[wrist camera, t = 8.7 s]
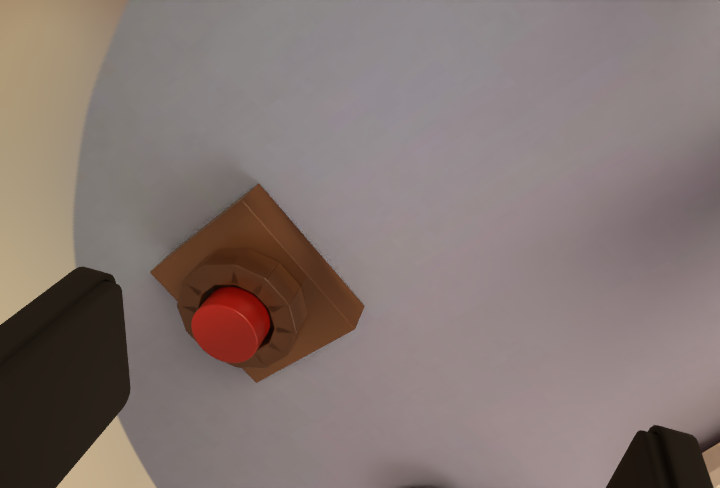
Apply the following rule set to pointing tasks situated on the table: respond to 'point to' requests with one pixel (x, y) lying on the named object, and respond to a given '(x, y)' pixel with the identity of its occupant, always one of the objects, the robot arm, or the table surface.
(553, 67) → the table surface
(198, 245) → the button block
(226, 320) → the button
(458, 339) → the table surface
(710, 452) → the decorative plate
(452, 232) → the table surface
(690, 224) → the table surface
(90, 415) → the robot arm
